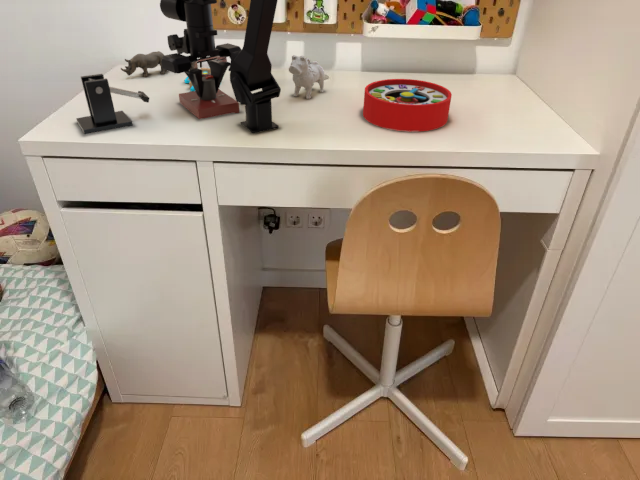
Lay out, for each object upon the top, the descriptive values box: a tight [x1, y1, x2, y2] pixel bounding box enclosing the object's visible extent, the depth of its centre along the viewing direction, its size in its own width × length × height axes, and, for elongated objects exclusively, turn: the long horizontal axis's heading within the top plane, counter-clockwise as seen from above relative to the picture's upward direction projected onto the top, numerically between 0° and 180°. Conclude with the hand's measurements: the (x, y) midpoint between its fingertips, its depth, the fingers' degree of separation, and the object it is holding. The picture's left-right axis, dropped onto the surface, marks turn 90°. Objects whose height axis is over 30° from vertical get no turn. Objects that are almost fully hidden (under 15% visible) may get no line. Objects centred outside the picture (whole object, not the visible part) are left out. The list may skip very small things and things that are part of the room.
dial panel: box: [178, 88, 240, 120], centre depth 118 cm, size 13×10×3 cm
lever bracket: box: [75, 73, 133, 135], centre depth 106 cm, size 10×8×10 cm
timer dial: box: [199, 76, 216, 100], centre depth 116 cm, size 4×4×5 cm
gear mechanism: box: [184, 67, 211, 92], centre depth 135 cm, size 20×5×9 cm
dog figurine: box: [288, 54, 325, 100], centre depth 125 cm, size 5×13×11 cm, turn 150°
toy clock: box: [362, 78, 453, 133], centre depth 115 cm, size 20×6×20 cm
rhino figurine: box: [120, 50, 168, 78], centre depth 139 cm, size 4×14×6 cm, turn 130°
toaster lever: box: [88, 78, 150, 103], centre depth 107 cm, size 12×5×2 cm, turn 122°
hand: (207, 94), depth 117 cm, fingers closed on timer dial, 4 cm apart
